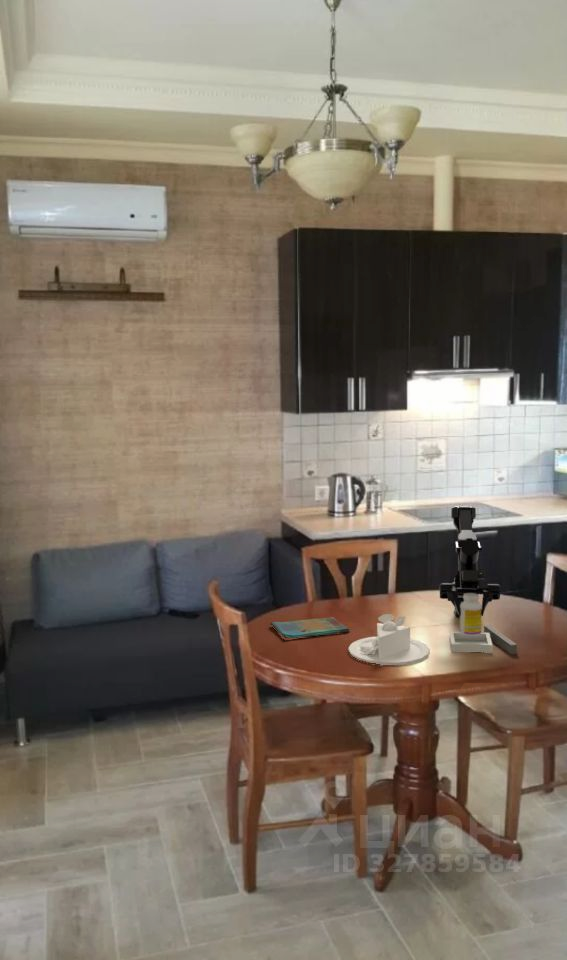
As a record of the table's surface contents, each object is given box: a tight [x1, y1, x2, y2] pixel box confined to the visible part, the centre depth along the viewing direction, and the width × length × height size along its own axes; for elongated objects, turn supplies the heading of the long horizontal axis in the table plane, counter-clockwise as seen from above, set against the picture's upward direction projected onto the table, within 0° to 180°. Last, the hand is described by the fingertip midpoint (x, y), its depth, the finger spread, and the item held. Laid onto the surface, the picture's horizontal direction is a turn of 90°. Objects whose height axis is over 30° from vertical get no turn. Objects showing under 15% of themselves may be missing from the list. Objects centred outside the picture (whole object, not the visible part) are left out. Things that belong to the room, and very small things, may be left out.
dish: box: [348, 613, 430, 667], centre depth 247 cm, size 25×25×11 cm
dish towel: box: [270, 616, 351, 638], centre depth 271 cm, size 17×23×2 cm
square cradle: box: [449, 631, 494, 654], centre depth 250 cm, size 12×12×2 cm
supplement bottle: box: [459, 593, 482, 637], centre depth 249 cm, size 7×7×13 cm
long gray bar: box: [483, 624, 518, 655], centre depth 252 cm, size 20×2×3 cm, turn 9°
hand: (470, 615), depth 248 cm, fingers closed on supplement bottle, 7 cm apart
